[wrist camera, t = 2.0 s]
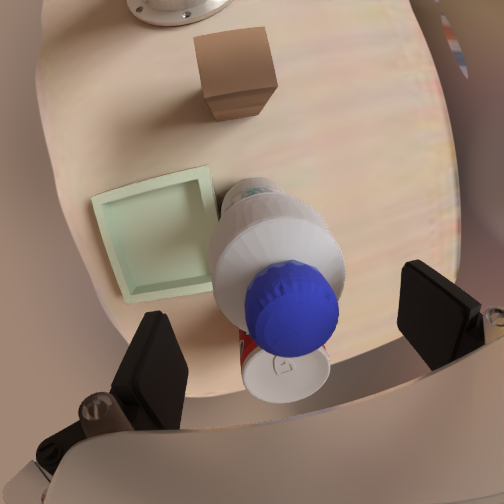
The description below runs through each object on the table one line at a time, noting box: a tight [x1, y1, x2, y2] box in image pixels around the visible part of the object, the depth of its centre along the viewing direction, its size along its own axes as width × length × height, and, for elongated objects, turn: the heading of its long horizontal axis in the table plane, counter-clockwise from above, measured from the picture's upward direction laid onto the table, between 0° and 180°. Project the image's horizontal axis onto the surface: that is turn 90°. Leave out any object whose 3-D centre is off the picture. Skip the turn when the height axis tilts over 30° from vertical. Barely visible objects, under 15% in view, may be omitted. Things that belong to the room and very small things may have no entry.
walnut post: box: [193, 27, 278, 122], centre depth 18 cm, size 4×4×12 cm
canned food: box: [239, 329, 330, 403], centre depth 26 cm, size 8×8×11 cm
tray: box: [91, 165, 220, 304], centre depth 26 cm, size 12×12×2 cm
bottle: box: [208, 178, 345, 358], centre depth 18 cm, size 7×7×20 cm
